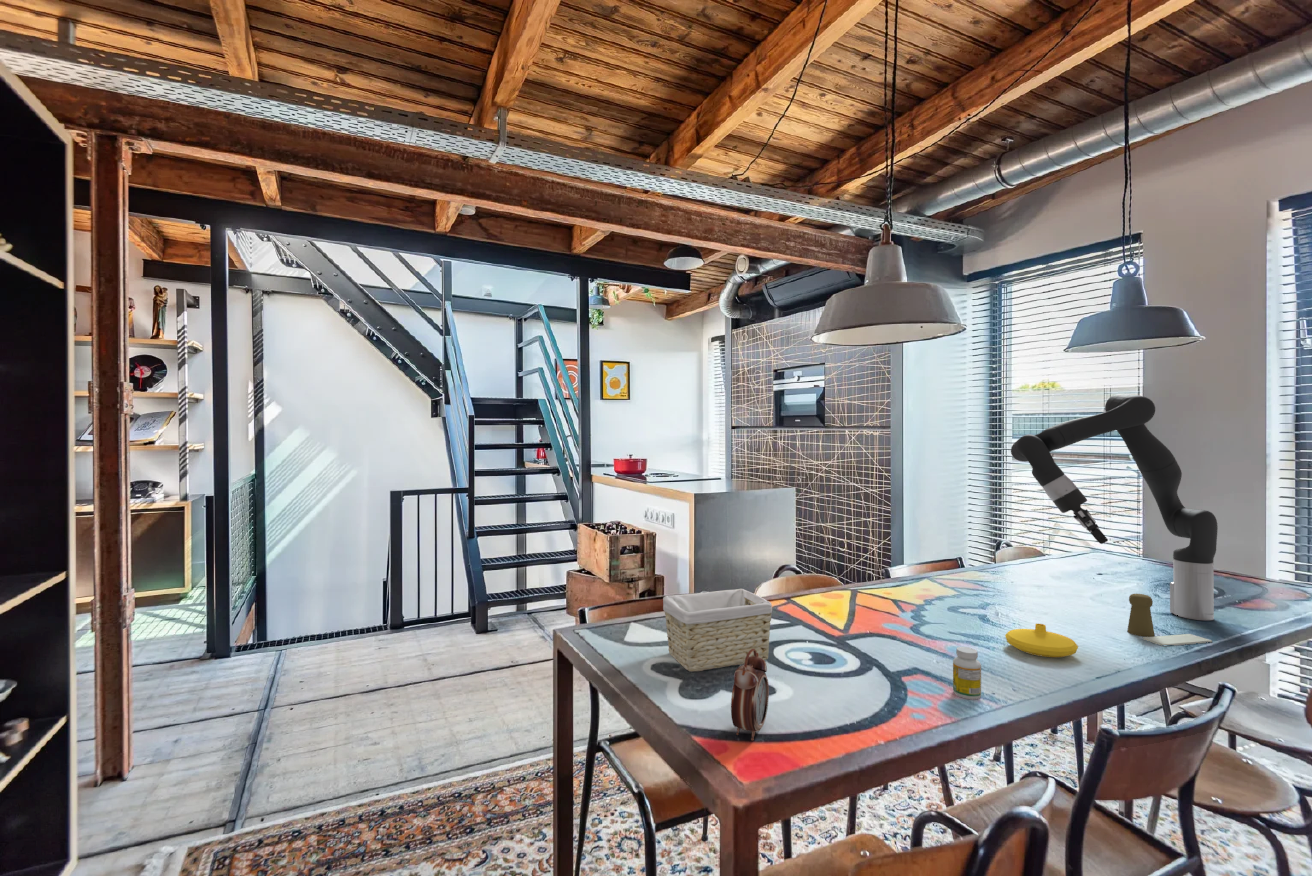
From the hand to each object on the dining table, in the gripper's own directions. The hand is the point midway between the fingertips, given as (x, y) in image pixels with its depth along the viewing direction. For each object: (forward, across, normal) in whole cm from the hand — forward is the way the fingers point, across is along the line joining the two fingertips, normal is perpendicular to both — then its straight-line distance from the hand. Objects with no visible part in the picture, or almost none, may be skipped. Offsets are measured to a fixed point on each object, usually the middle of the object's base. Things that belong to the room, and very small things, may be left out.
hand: (1103, 541), depth 170 cm
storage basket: (-22, -79, +86) cm, 119 cm away
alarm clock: (-7, -109, +69) cm, 129 cm away
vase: (+14, -30, +28) cm, 44 cm away
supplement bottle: (+9, -69, +41) cm, 81 cm away
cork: (+26, +3, +8) cm, 27 cm away
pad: (+30, +1, +2) cm, 30 cm away
